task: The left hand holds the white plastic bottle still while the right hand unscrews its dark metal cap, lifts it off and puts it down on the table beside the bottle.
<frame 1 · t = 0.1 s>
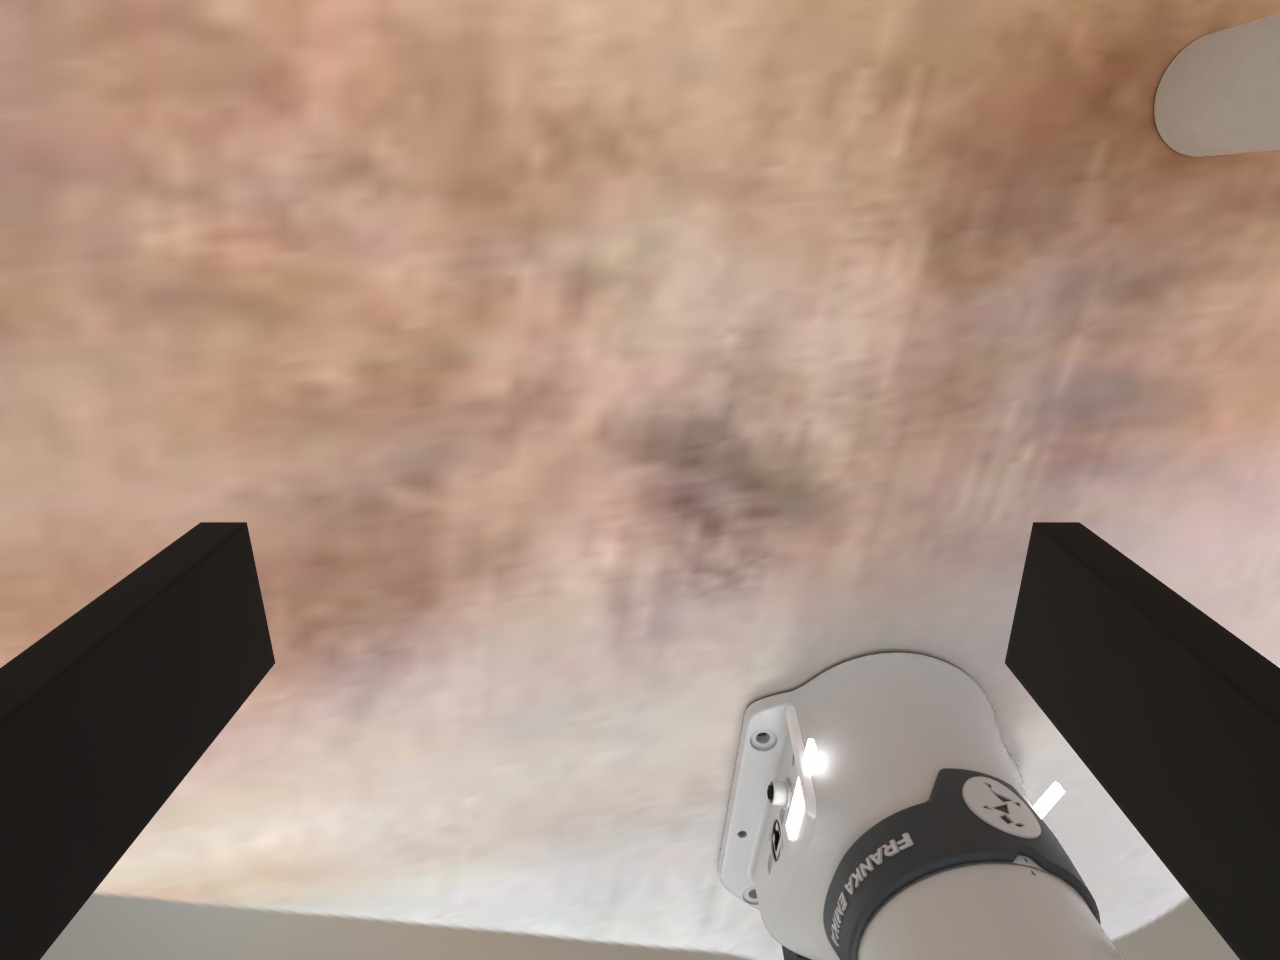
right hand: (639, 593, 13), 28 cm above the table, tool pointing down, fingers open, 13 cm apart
bottle: (1210, 95, 35), on the table
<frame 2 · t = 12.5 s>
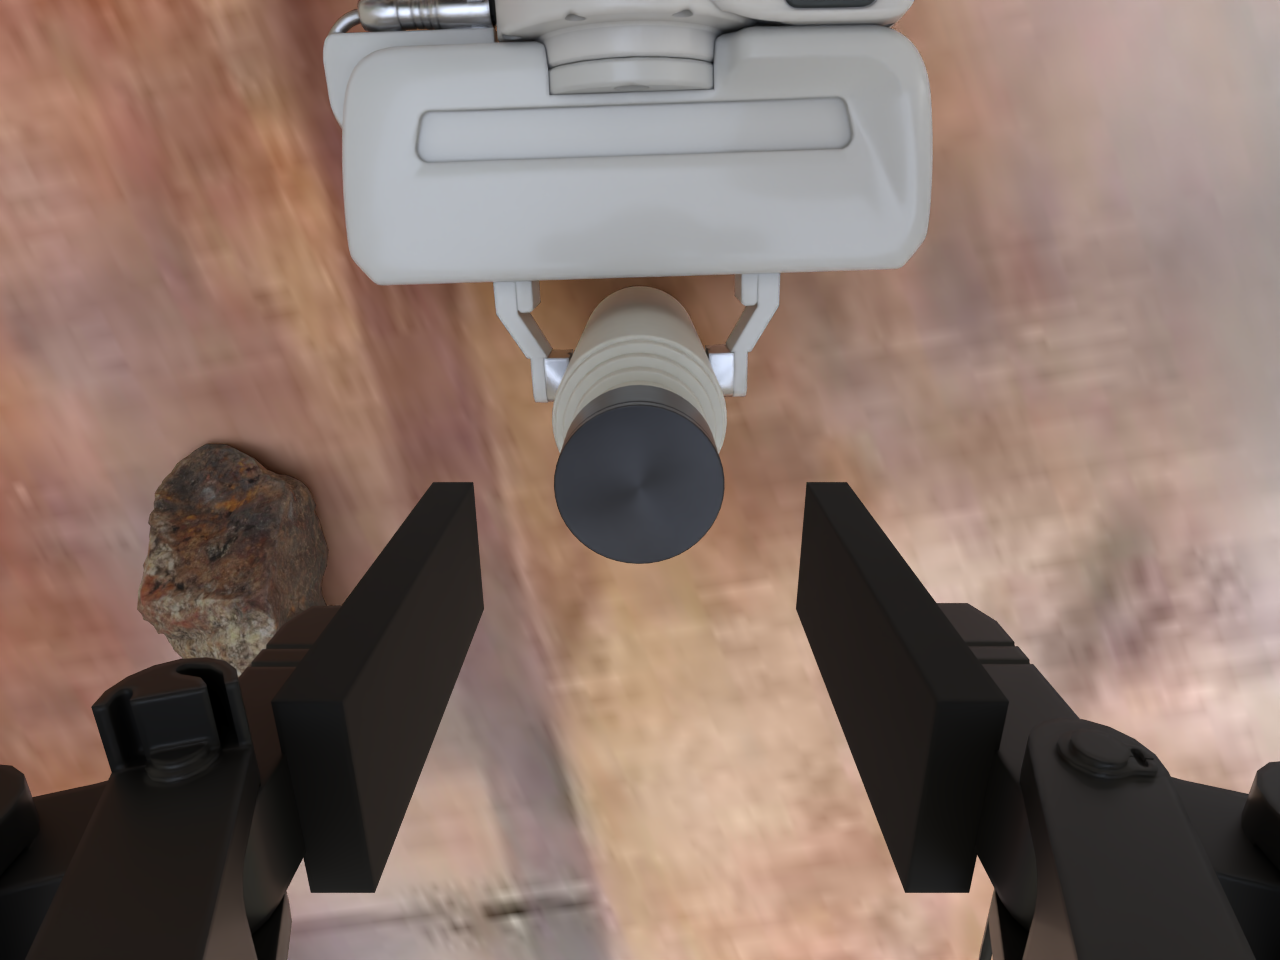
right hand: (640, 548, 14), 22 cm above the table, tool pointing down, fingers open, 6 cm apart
left hand: (641, 396, 29), fingers closed on bottle, 5 cm apart
cap: (639, 483, 18), point 19 cm above the table, screwed on, not yet turned
bottle: (639, 343, 35), on the table, touching left hand
rock: (274, 570, 39), on the table
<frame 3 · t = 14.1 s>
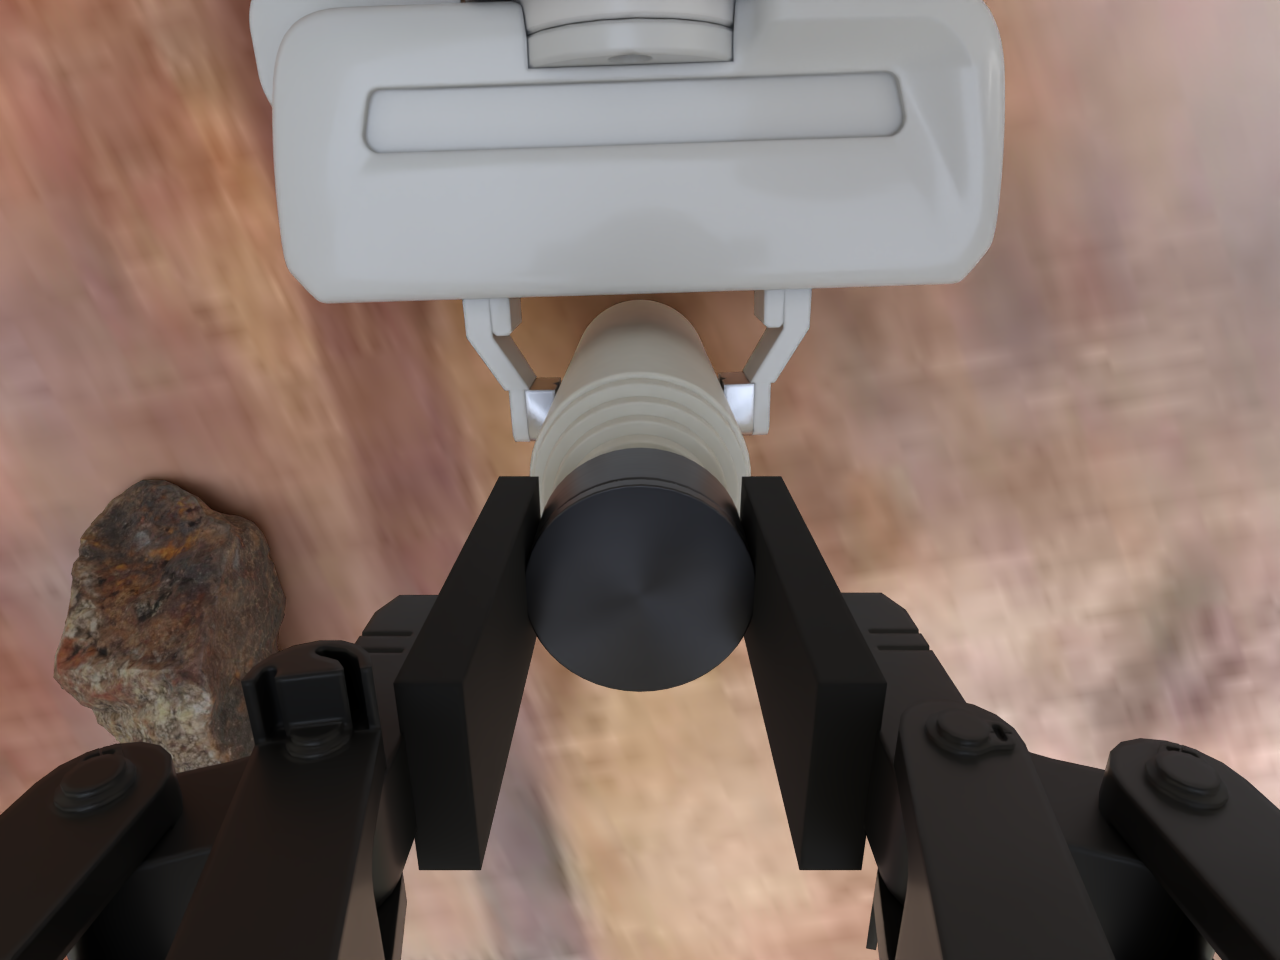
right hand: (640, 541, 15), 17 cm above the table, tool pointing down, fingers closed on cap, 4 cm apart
cap: (640, 585, 13), point 19 cm above the table, screwed on, not yet turned, touching right hand
bottle: (640, 365, 30), on the table, touching left hand
rock: (224, 620, 35), on the table
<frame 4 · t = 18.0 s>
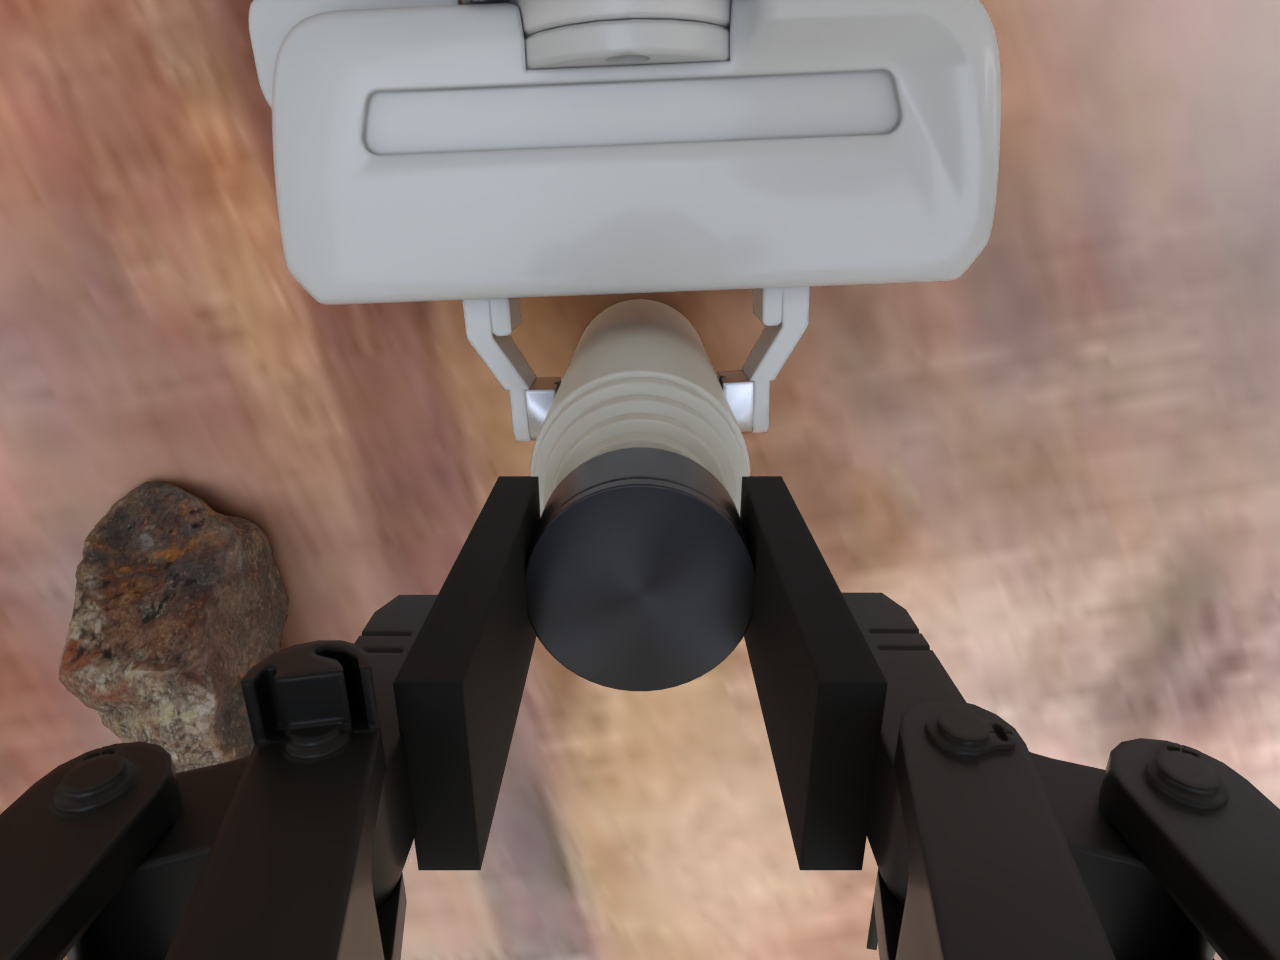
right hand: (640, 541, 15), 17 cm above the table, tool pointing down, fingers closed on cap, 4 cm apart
cap: (640, 585, 13), point 19 cm above the table, turned 131° so far, risen 0.1 cm, still on its thread, touching right hand
bottle: (640, 364, 30), on the table, touching left hand
rock: (228, 621, 35), on the table
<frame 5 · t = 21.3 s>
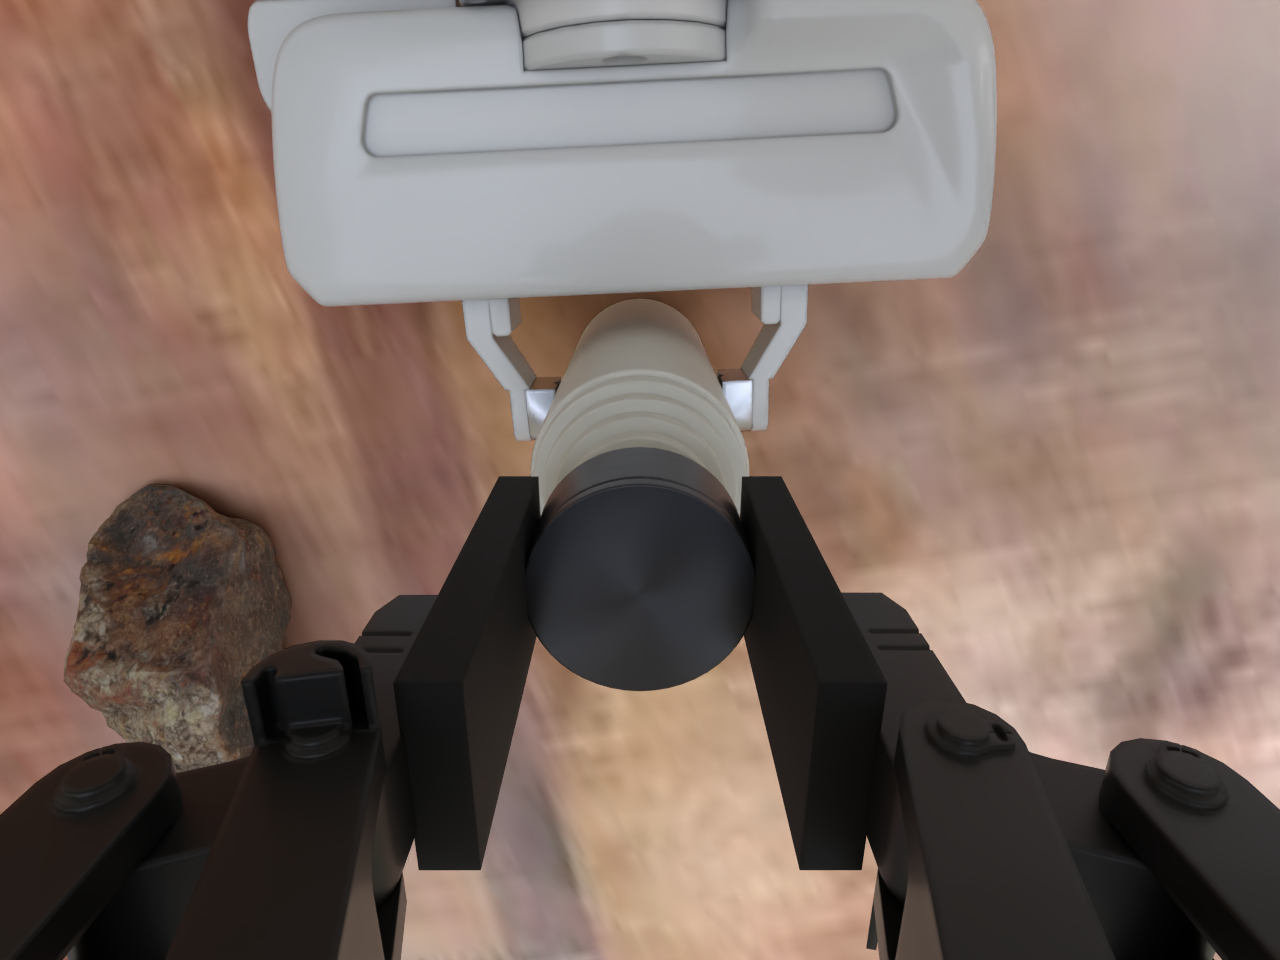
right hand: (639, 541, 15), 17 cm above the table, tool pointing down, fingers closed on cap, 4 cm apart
left hand: (642, 431, 25), fingers closed on bottle, 5 cm apart
cap: (640, 585, 13), point 19 cm above the table, turned 262° so far, risen 0.2 cm, still on its thread, touching right hand
bottle: (639, 364, 31), on the table, touching left hand
rock: (231, 622, 35), on the table
when the right hand's fingers open (1 cm above the table, at t = 32.1 s): cap drops 1 cm, point 2 cm above the table.
when the left hand's fingers open (7 cm above the table, at t = 33.4 s): bottle stays where it is, on the table.
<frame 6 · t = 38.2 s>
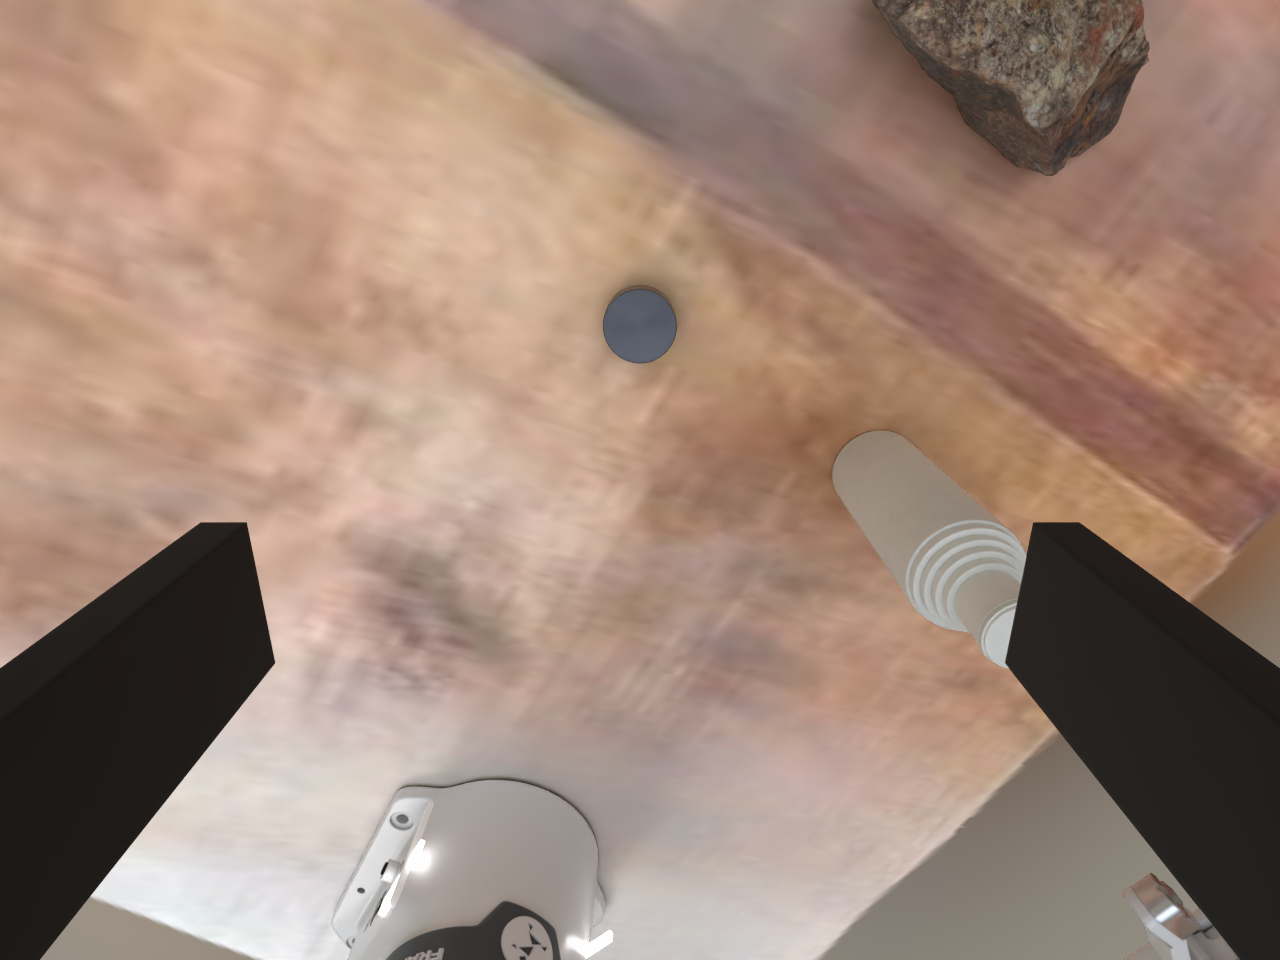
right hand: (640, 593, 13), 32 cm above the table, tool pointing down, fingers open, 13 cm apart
cap: (639, 326, 41), point 2 cm above the table, off its thread
bottle: (875, 471, 45), on the table
rock: (994, 52, 37), on the table
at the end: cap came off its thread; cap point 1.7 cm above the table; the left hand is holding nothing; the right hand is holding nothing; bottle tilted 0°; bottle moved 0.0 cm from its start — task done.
